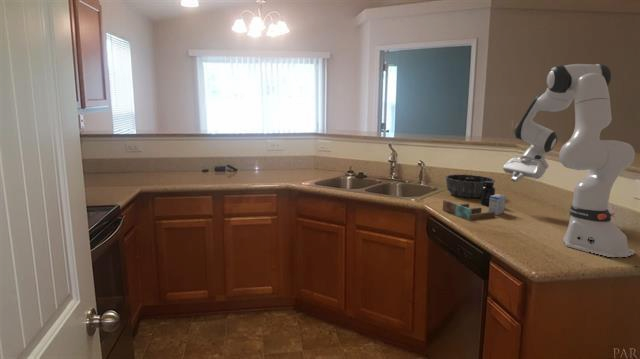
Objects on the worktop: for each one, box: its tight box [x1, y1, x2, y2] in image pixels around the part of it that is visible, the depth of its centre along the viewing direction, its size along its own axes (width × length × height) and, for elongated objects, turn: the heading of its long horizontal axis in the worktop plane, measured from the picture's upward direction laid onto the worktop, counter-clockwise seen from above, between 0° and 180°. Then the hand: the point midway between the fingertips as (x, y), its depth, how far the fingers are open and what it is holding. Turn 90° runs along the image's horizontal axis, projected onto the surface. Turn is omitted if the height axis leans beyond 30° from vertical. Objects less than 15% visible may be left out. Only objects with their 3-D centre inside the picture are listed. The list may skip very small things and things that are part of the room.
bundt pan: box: [445, 174, 496, 199], centre depth 241 cm, size 26×26×10 cm
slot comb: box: [442, 199, 496, 221], centre depth 200 cm, size 18×15×5 cm
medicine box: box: [487, 193, 506, 216], centre depth 202 cm, size 8×4×9 cm, turn 135°
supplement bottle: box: [479, 181, 496, 207], centre depth 218 cm, size 7×7×12 cm
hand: (513, 180), depth 203 cm, fingers closed
